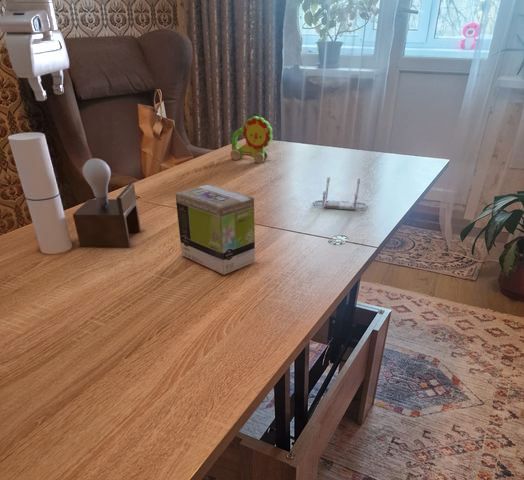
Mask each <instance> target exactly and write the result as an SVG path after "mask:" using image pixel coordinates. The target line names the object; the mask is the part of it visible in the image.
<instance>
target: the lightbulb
mask: <svg viewBox="0 0 524 480" xmlns="http://www.w3.org/2000/svg"><path fill="white" fill-rule="evenodd" d="M111 175H112V171H111V168H110V166H109V165H108V164H107V162H106V161H105V160H102V159H100V158H96V157H94V158H90V159H88V160H87V161H86V162H85V163H84V164H83V166H82V176H83V178H84V180H85V181H86V183H87V184H88V185H89V186H90V188H91V189H92V192H93V195H94V197H95V199H96V200H97V204H98V205H100V206H101V207H105V206H106V205H107V204H108V199H109V198H108V195H109V190H108V188H109V184H110V180H111Z"/></svg>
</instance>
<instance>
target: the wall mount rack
mask: <svg viewBox="0 0 524 480" xmlns="http://www.w3.org/2000/svg"><path fill="white" fill-rule="evenodd" d="M330 181H331V178H330V177H329V176H328V177H326V188H325V190H324V191H323V192H322V199H320V200H315V201H313V202H312V205H313V206H315V207H319V208H320V207H321V208H325V209H337V210H352V211H353V210H364V209H367V208H368V204H367V203H365V202H362V201H361V202H359V201H358V198H359V197H358V196H359V189H360V184H361V178H357V180H356V192H355V193H354V201H351V200H331V199H329V200H328V194H329V185H330ZM319 203H322V204H319ZM357 205H362V206H357Z"/></svg>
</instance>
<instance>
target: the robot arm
mask: <svg viewBox="0 0 524 480" xmlns="http://www.w3.org/2000/svg"><path fill="white" fill-rule="evenodd" d="M2 1H3V0H0V2H2ZM4 2H5V7H6V9H5V12H4V13H3V15H2V16H1V17H0V31H1V33H3V34H5V35H4V42H5V47H6V50H7V53H8V58H9V62H10V64H11V67H12V70H13V72H14V73H15V75H16V76H17V77H18V79H19V78H22V79H27V81H28V84H29V86H30V88H31V89H32V91H33V93H34V97H35V100H36V101H37V102H44V101H46V100H47V99H48V97H47V91H46V90H44V88H43V86H42V78H41V77H42V76H45V75H48V74H51V76H52V79H53V85H52V90H53V93H54V94H55V95H63V94H64V93H65V89H64V72H63V71H64V70H67V69H70V58H69V55H68V50H67V45H66V42H65V40H64V36H63V34H62V31H60V30H59V25H58V21H57V16H56V11H55V6H54V1H53V0H4Z"/></svg>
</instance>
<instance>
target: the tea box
mask: <svg viewBox="0 0 524 480" xmlns="http://www.w3.org/2000/svg"><path fill="white" fill-rule="evenodd" d="M175 203H176V213H177V223H178V233H179V242H180V251H181V256H183V257H184V258H187V259H189V260H191V261H193V262H195V263H197V264H200V265H201V266H204V267H206V268H208V269H210V270H212V271H215V272H218V273H219V274H221V275H224V276H225V275H227V274H230V273H232V272H234V271H237V270H240V269H242V268H245V267H247V266H249V265H251V264H253V263H255V261H256V244H255V243H256V239H255V238H256V237H255V235H256V234H255V233H256V232H255V197H253V196H251V195H247V194H243V193H239V192H236V191H234V190H231V189H230V190H229V189H226V188H223V187H220V186H217V185H213V184H208V183H207V184H205V185H202V186H201V185H200V186H197V187H194V188H189V189H186V190H182V191H179V192H175Z"/></svg>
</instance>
